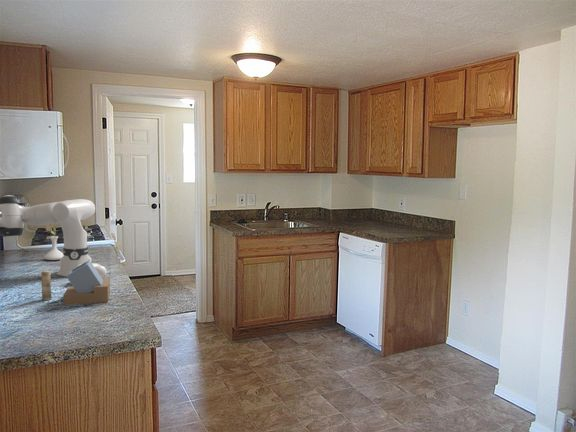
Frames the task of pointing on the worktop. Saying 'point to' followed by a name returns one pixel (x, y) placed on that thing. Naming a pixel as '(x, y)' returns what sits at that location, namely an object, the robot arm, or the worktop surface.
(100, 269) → the lightbulb
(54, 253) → the flower in vase
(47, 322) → the worktop surface
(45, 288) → the peg
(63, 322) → the worktop surface
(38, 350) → the worktop surface
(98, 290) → the socket
